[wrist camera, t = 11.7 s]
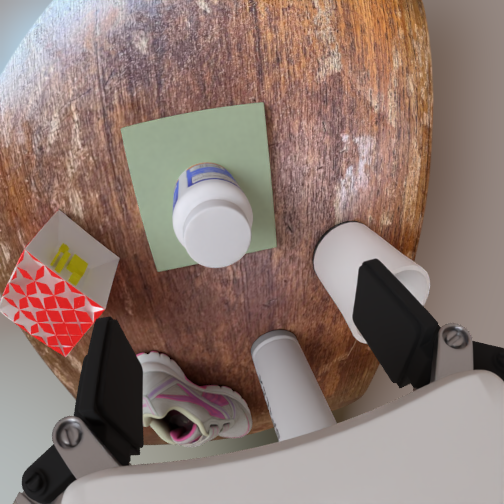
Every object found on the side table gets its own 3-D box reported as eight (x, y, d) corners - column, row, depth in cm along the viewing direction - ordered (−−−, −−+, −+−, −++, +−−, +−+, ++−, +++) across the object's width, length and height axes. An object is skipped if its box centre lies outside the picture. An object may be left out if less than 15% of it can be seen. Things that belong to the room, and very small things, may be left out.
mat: (122, 127, 22) (120, 128, 21) (261, 102, 24) (263, 102, 23) (158, 268, 29) (157, 272, 28) (274, 243, 31) (277, 247, 30)
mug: (308, 222, 30) (359, 278, 22) (379, 211, 32) (439, 256, 23) (306, 305, 36) (342, 367, 27) (368, 289, 37) (412, 341, 29)
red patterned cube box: (119, 258, 28) (105, 309, 21) (82, 304, 29) (65, 357, 22) (58, 208, 24) (23, 247, 17) (26, 262, 25) (-4, 308, 18)
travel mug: (307, 336, 39) (372, 466, 22) (274, 366, 40) (322, 493, 23) (274, 320, 36) (339, 469, 19) (240, 353, 38) (283, 497, 21)
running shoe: (221, 422, 46) (232, 471, 37) (107, 373, 35) (101, 435, 26) (261, 399, 44) (277, 450, 36) (143, 340, 33) (141, 408, 25)
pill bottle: (208, 230, 28) (223, 294, 19) (161, 196, 25) (152, 249, 17) (248, 186, 26) (282, 233, 18) (202, 147, 24) (214, 175, 15)
